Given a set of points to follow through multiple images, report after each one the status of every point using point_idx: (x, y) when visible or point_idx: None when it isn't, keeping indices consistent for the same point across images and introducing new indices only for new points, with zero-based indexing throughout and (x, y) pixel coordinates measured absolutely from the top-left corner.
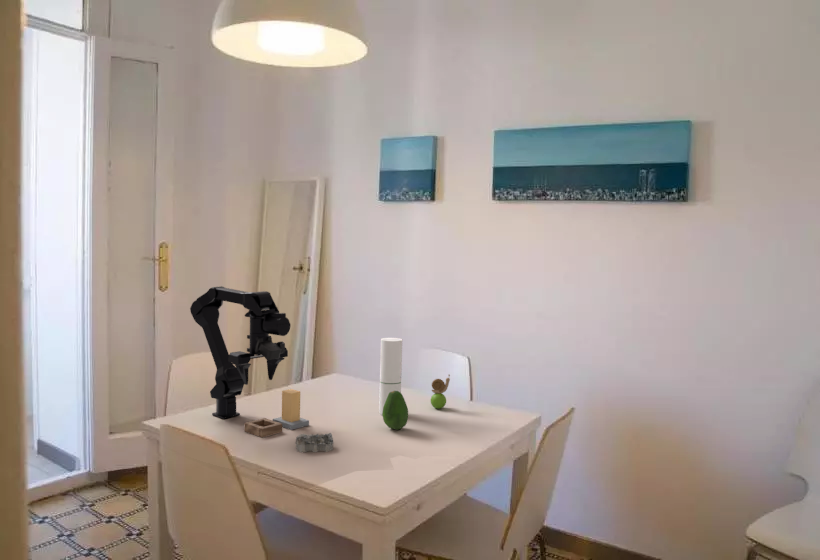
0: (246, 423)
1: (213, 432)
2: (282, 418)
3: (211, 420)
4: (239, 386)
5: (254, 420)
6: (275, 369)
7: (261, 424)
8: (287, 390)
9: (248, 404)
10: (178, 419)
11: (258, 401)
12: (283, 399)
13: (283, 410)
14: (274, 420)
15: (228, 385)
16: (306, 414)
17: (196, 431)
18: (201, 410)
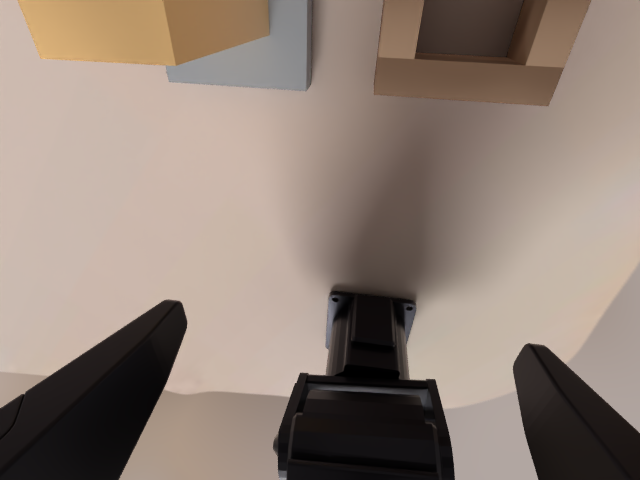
0: (554, 84)
1: (622, 201)
2: (267, 26)
3: (455, 318)
4: (340, 410)
5: (463, 99)
6: (25, 398)
7: (431, 56)
8: (106, 25)
9: (221, 348)
10: (508, 389)
11: None
12: (213, 24)
13: (248, 16)
14: (307, 70)
15: (437, 443)
16: (62, 79)
17: (636, 265)
18: None
